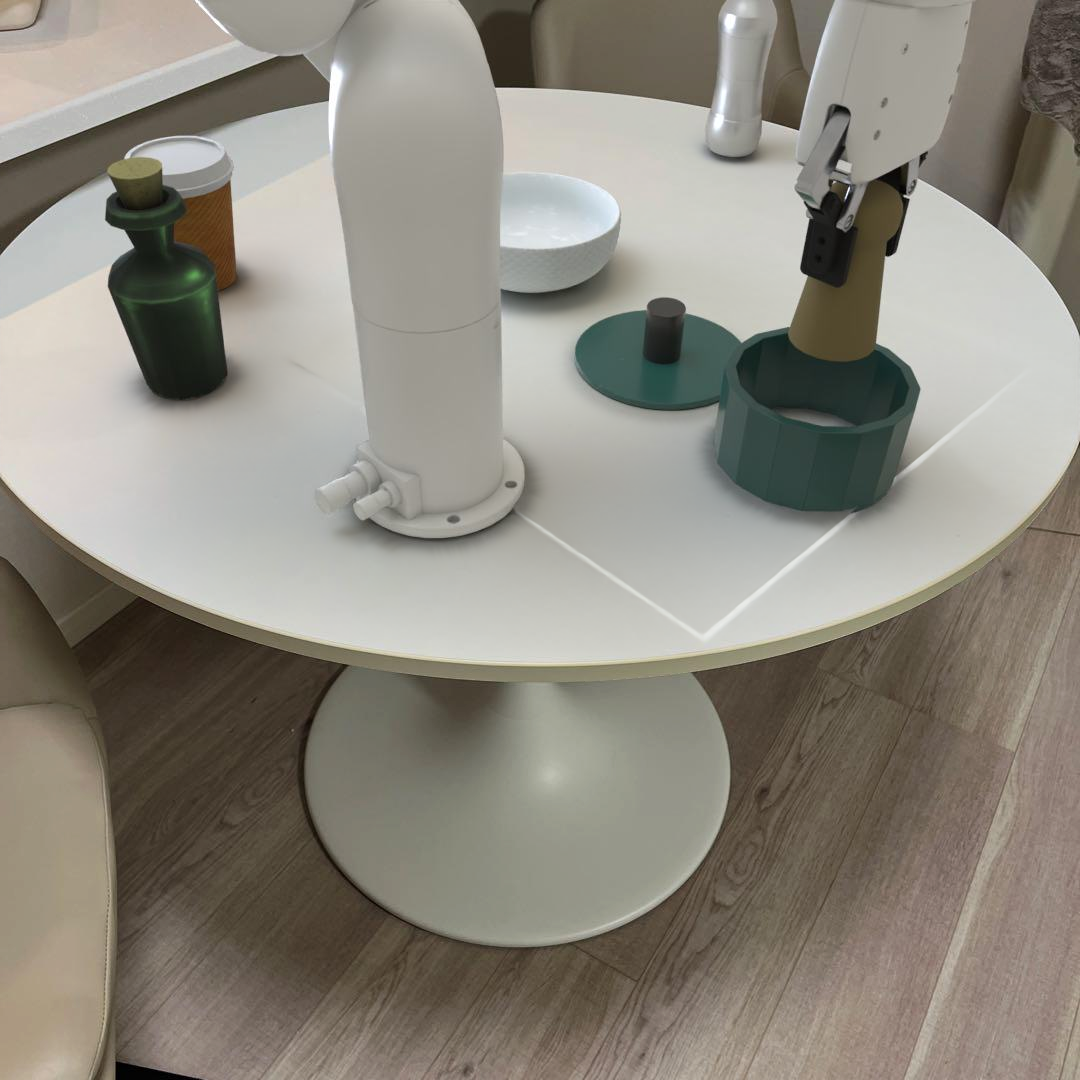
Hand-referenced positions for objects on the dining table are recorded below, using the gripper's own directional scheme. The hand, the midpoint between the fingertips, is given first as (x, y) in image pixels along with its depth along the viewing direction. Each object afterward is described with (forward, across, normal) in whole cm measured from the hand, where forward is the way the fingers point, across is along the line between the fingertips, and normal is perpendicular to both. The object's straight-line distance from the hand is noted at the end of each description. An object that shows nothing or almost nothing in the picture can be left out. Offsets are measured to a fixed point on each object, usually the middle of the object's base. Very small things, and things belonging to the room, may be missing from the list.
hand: (848, 261), depth 70 cm
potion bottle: (+17, +28, -42) cm, 53 cm away
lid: (+16, -2, -16) cm, 23 cm away
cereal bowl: (+17, -5, -35) cm, 39 cm away
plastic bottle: (+17, -43, -40) cm, 61 cm away
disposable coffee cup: (+17, +18, -56) cm, 61 cm away
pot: (+17, 0, 0) cm, 17 cm away
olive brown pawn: (+6, 0, 0) cm, 6 cm away
